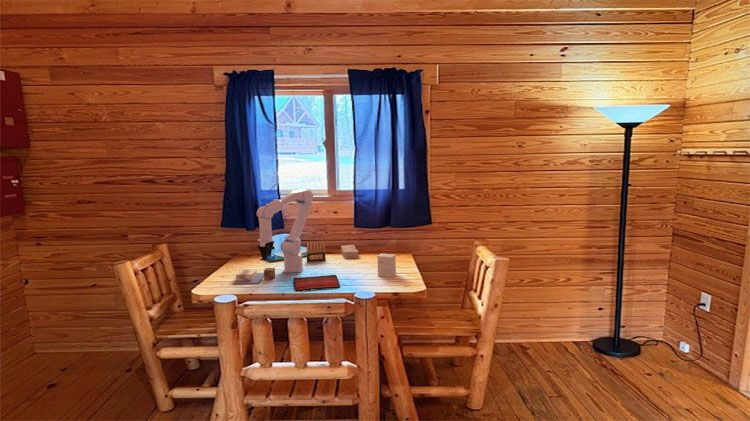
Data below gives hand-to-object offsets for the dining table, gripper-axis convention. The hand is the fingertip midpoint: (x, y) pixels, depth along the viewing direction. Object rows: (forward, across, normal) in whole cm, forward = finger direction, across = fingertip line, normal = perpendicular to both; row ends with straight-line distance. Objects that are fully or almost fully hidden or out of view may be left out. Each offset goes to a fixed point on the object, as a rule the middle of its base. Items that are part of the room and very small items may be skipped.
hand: (266, 257), depth 208 cm
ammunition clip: (+10, -30, +20) cm, 38 cm away
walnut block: (+11, +1, +2) cm, 11 cm away
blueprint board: (+10, +2, -8) cm, 13 cm away
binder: (+11, +11, +26) cm, 30 cm away
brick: (+10, -42, +39) cm, 58 cm away
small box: (+10, -2, +60) cm, 61 cm away
